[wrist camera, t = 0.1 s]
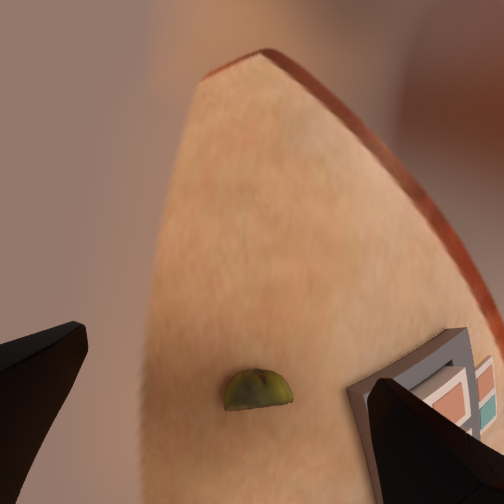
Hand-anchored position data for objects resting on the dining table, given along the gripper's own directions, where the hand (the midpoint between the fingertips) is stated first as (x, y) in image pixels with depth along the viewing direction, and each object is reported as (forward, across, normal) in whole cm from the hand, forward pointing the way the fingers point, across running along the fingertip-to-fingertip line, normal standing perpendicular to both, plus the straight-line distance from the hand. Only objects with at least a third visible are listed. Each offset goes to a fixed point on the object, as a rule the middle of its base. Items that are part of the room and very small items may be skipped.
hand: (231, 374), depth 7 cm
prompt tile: (+10, -32, +12) cm, 36 cm away
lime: (+11, -3, +11) cm, 16 cm away
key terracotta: (+8, -19, +10) cm, 23 cm away
